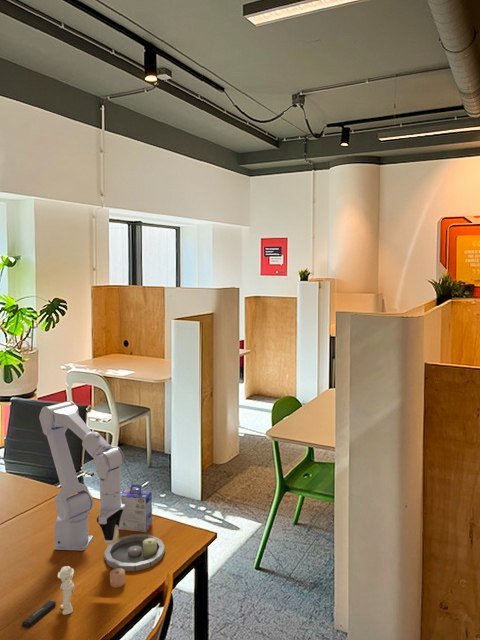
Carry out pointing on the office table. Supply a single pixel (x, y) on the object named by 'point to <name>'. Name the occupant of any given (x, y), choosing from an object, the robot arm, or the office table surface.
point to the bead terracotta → (117, 577)
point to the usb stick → (38, 614)
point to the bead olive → (149, 547)
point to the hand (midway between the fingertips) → (111, 535)
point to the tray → (132, 553)
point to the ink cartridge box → (136, 510)
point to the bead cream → (115, 537)
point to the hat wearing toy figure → (66, 588)
